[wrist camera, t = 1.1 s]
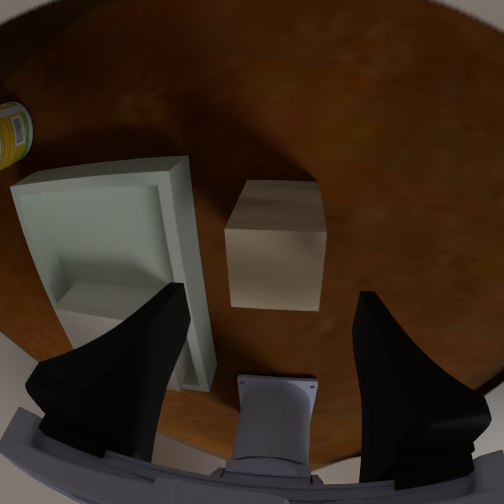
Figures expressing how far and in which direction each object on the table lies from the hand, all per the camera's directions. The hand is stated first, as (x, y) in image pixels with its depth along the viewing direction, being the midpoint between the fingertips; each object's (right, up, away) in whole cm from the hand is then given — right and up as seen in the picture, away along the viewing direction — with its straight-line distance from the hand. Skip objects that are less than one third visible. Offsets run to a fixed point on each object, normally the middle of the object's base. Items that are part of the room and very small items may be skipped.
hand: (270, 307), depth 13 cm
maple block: (+1, +5, +8) cm, 10 cm away
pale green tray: (-11, 0, +13) cm, 17 cm away
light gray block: (-11, -4, +14) cm, 19 cm away
